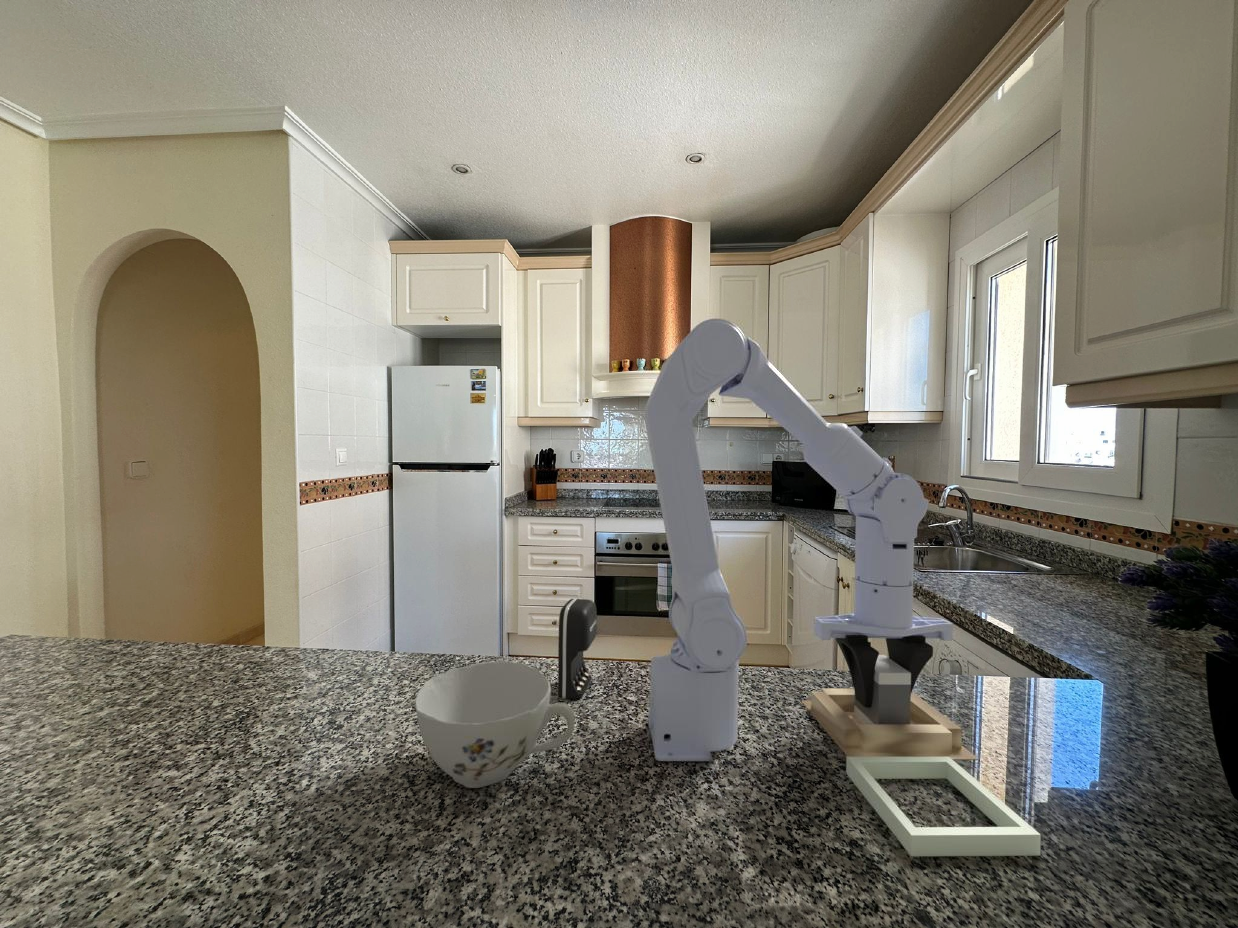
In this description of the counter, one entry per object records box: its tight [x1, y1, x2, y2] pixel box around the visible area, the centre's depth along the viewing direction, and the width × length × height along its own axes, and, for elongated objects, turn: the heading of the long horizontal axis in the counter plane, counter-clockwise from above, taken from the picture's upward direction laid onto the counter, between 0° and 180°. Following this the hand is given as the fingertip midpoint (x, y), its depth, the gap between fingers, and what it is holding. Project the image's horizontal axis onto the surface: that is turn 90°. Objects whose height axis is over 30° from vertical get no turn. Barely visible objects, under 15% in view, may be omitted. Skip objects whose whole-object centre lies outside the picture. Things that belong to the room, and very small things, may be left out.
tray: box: [845, 756, 1042, 857], centre depth 42 cm, size 10×10×2 cm
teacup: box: [414, 661, 575, 789], centre depth 47 cm, size 15×12×8 cm
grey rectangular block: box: [854, 654, 911, 724], centre depth 55 cm, size 3×5×7 cm
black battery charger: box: [557, 597, 598, 700], centre depth 65 cm, size 7×4×11 cm, turn 171°
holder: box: [801, 687, 980, 761], centre depth 55 cm, size 13×12×3 cm
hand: (881, 703), depth 55 cm, fingers closed on grey rectangular block, 3 cm apart
